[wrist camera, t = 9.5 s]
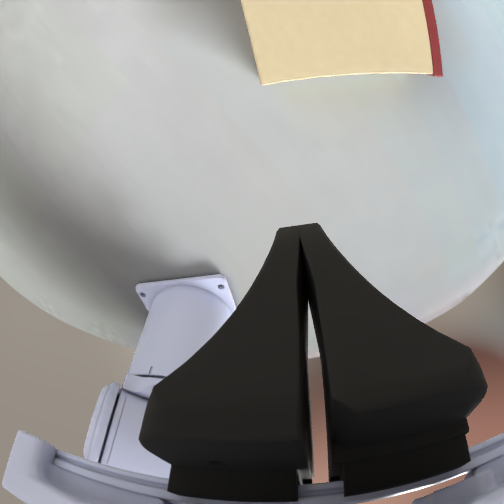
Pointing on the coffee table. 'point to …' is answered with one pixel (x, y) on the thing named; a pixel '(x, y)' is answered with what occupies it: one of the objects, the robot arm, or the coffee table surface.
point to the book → (341, 38)
